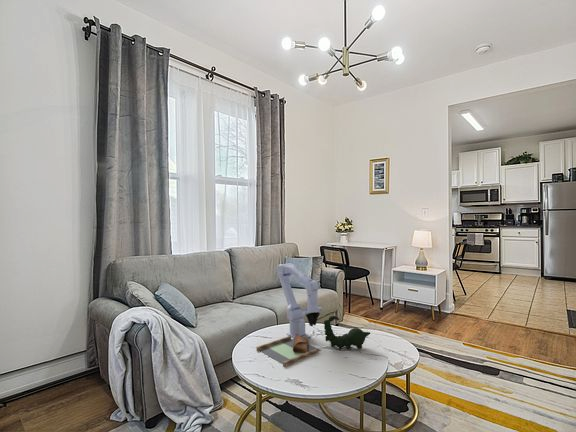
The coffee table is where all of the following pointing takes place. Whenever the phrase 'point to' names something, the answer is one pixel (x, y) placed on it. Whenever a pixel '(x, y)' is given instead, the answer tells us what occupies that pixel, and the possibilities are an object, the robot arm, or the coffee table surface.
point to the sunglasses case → (300, 344)
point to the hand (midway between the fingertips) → (312, 325)
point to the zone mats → (284, 351)
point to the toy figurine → (344, 336)
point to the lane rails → (292, 358)
